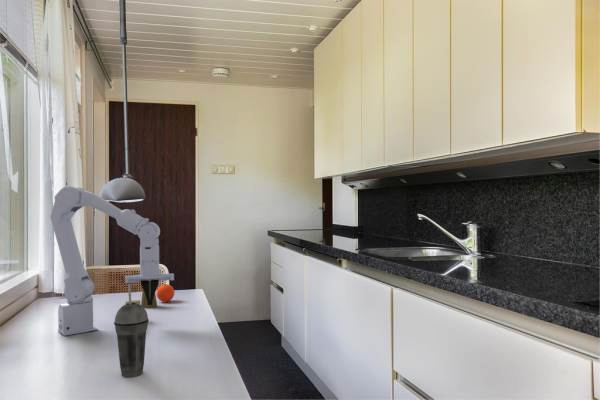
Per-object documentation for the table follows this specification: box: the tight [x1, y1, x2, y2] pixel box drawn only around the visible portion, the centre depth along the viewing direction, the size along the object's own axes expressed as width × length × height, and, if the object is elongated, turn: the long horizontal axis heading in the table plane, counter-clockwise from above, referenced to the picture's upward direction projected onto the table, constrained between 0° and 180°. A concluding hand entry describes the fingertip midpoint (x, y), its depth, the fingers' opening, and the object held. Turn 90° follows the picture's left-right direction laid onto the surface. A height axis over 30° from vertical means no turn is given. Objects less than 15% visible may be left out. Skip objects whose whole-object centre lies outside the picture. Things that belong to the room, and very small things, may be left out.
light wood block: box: [125, 299, 141, 305], centre depth 156 cm, size 2×4×6 cm, turn 108°
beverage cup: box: [113, 283, 150, 378], centre depth 105 cm, size 7×7×20 cm
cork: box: [140, 279, 158, 309], centre depth 179 cm, size 6×6×11 cm
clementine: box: [156, 283, 175, 303], centre depth 189 cm, size 8×7×7 cm
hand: (150, 304), depth 147 cm, fingers closed
